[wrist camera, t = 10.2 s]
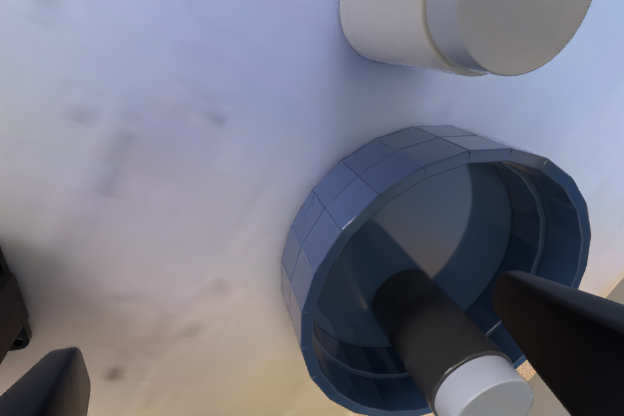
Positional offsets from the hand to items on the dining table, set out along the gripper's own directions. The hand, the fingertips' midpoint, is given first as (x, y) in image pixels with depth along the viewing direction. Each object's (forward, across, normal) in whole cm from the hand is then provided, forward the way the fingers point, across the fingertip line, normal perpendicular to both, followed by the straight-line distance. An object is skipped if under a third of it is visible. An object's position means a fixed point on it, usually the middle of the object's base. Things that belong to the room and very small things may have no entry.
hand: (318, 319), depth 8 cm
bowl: (+12, -10, +7) cm, 17 cm away
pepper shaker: (+11, -10, +10) cm, 18 cm away
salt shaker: (+12, -7, -7) cm, 15 cm away
